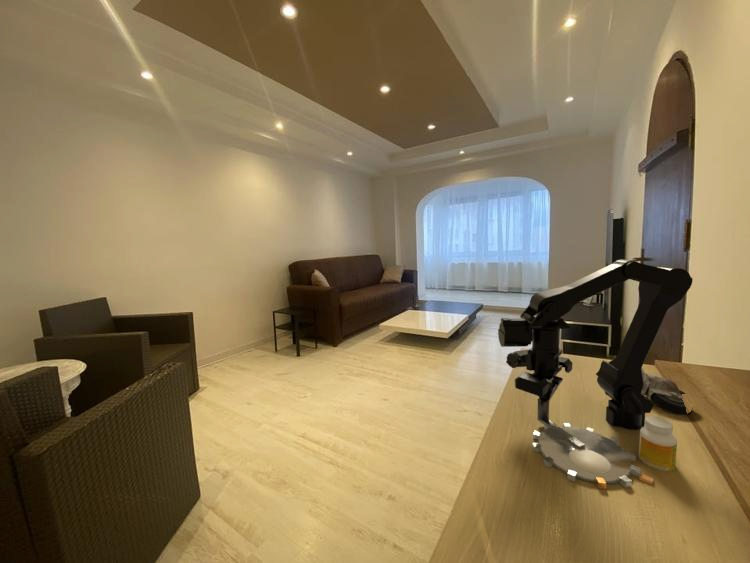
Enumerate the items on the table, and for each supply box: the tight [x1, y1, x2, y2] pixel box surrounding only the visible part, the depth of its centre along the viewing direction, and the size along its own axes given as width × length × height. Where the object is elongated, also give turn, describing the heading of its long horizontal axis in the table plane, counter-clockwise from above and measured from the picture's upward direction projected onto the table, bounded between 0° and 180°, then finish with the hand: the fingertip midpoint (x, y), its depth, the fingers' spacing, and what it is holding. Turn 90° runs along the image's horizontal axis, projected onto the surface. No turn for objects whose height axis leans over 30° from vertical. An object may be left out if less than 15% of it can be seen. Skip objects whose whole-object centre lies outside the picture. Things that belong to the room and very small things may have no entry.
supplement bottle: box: [638, 415, 678, 472], centre depth 61 cm, size 5×5×10 cm
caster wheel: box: [641, 367, 688, 416], centre depth 83 cm, size 7×11×10 cm
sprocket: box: [532, 397, 641, 490], centre depth 65 cm, size 18×20×6 cm
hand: (544, 405), depth 77 cm, fingers closed
